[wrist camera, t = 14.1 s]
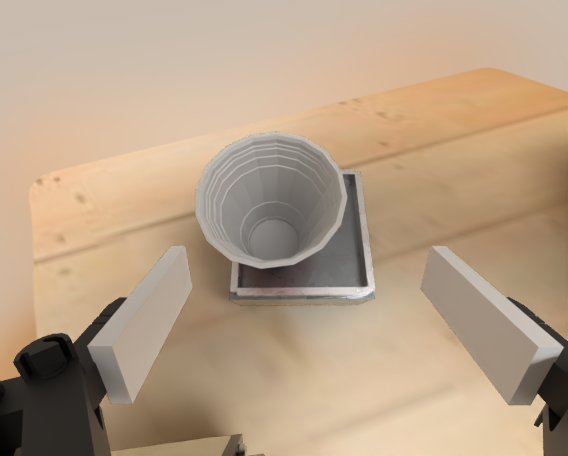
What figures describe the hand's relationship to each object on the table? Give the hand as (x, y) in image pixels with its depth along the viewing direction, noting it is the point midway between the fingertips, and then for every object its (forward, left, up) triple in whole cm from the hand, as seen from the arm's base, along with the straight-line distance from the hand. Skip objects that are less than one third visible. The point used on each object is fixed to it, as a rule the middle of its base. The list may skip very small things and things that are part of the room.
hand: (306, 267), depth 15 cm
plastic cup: (+3, -6, -14) cm, 16 cm away
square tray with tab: (-1, -8, -21) cm, 23 cm away
